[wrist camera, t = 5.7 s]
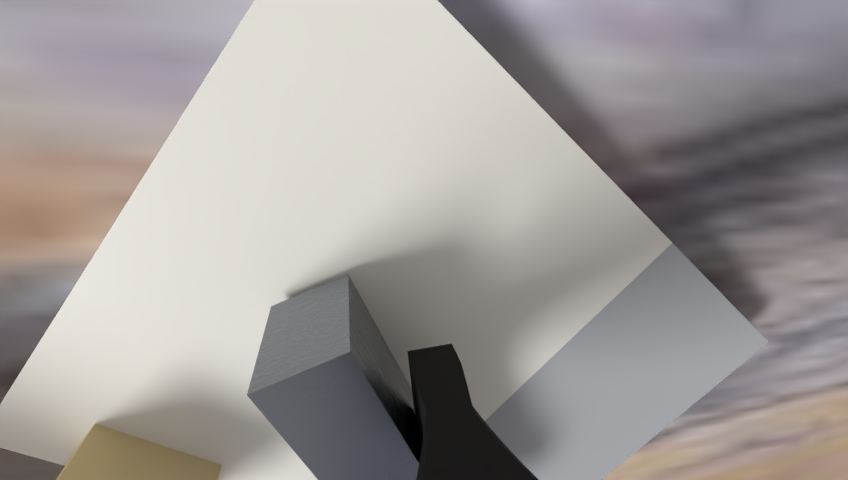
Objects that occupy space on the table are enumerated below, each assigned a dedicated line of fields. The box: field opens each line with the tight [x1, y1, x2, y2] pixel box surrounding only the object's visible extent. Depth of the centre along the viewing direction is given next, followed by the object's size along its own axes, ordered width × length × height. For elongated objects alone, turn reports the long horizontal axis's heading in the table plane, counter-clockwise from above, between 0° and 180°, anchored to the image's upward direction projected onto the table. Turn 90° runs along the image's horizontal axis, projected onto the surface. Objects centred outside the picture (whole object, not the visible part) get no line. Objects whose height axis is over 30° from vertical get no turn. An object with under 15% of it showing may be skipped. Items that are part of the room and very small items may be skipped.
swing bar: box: [247, 274, 422, 480], centre depth 11 cm, size 10×3×3 cm, turn 21°
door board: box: [0, 0, 768, 480], centre depth 12 cm, size 18×15×4 cm
